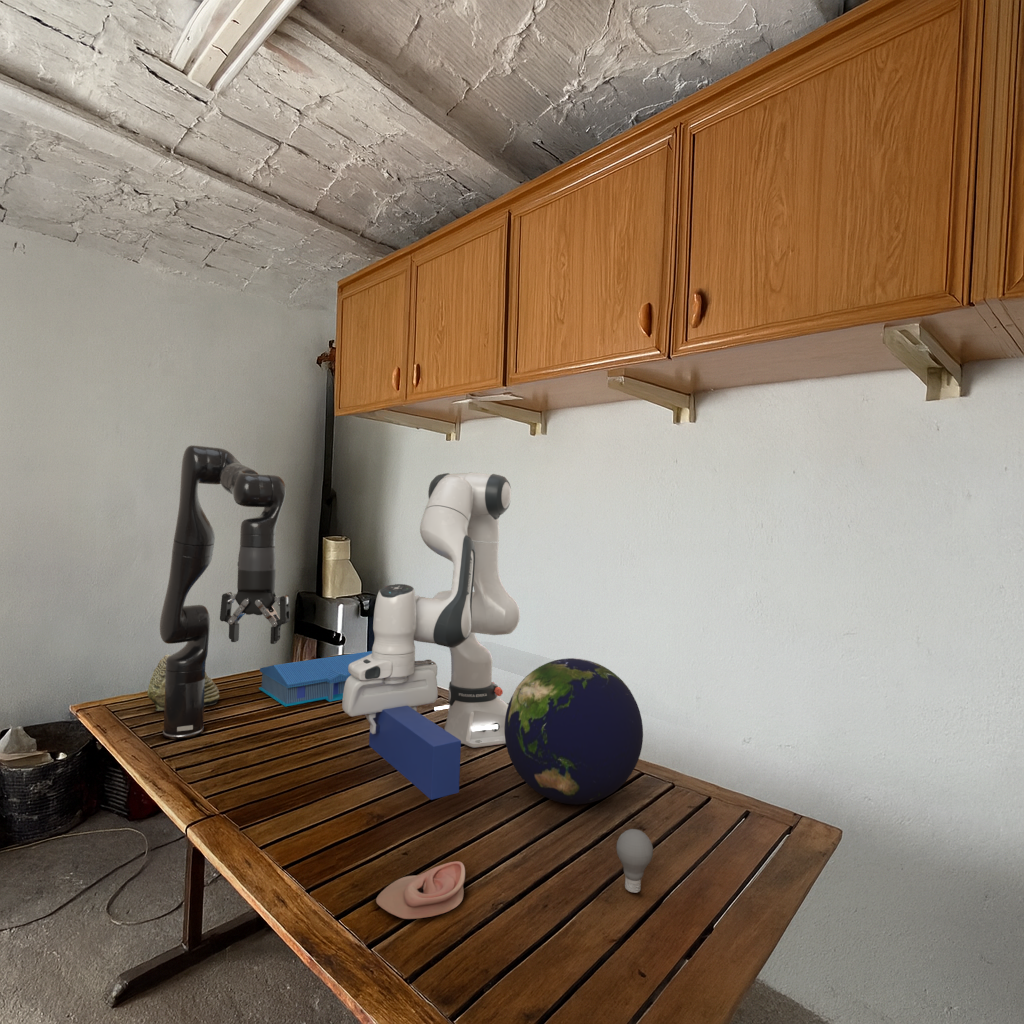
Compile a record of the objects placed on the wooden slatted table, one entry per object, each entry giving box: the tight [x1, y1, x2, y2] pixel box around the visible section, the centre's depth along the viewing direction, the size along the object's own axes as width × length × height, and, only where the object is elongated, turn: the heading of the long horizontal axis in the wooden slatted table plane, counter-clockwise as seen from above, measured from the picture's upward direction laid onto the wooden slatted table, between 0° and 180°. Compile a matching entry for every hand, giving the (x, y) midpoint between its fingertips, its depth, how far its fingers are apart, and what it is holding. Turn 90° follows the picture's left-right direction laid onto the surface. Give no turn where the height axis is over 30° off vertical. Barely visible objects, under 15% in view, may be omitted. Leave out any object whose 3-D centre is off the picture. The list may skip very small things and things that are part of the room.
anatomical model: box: [375, 860, 466, 920], centre depth 101 cm, size 13×4×12 cm
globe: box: [504, 657, 644, 805], centre depth 138 cm, size 30×30×30 cm
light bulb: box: [615, 828, 654, 894], centre depth 106 cm, size 6×6×10 cm
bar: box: [368, 706, 462, 801], centre depth 124 cm, size 28×6×10 cm, turn 35°
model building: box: [258, 650, 372, 707], centre depth 208 cm, size 39×24×10 cm, turn 132°
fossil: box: [147, 654, 221, 712], centre depth 185 cm, size 9×18×15 cm, turn 132°
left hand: (254, 642), depth 136 cm, fingers open, 8 cm apart
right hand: (390, 729), depth 132 cm, fingers closed on bar, 5 cm apart
